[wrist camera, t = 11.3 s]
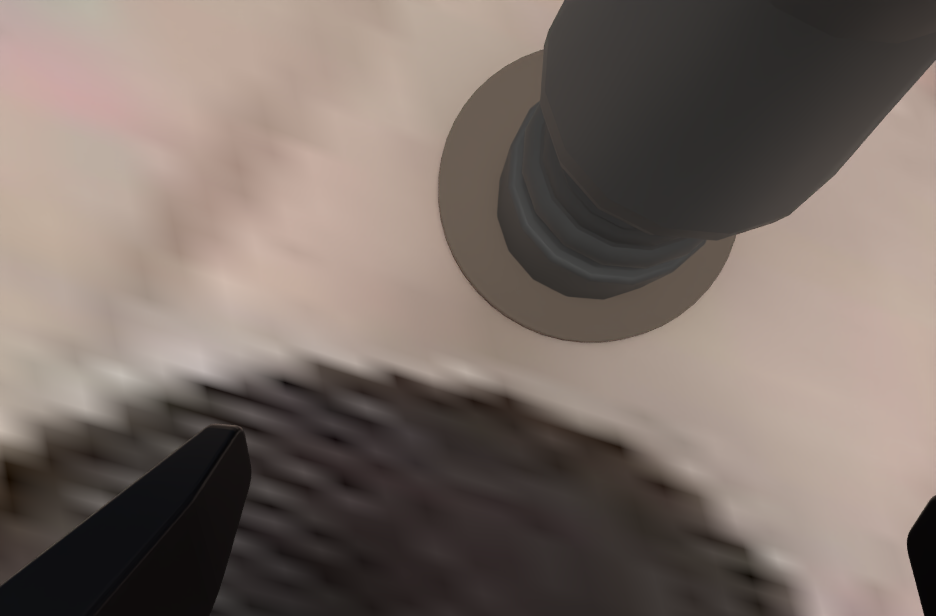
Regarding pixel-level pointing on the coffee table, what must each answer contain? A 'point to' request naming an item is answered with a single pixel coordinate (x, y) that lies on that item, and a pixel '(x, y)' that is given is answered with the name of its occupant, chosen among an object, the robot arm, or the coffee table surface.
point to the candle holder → (693, 126)
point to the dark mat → (483, 245)
